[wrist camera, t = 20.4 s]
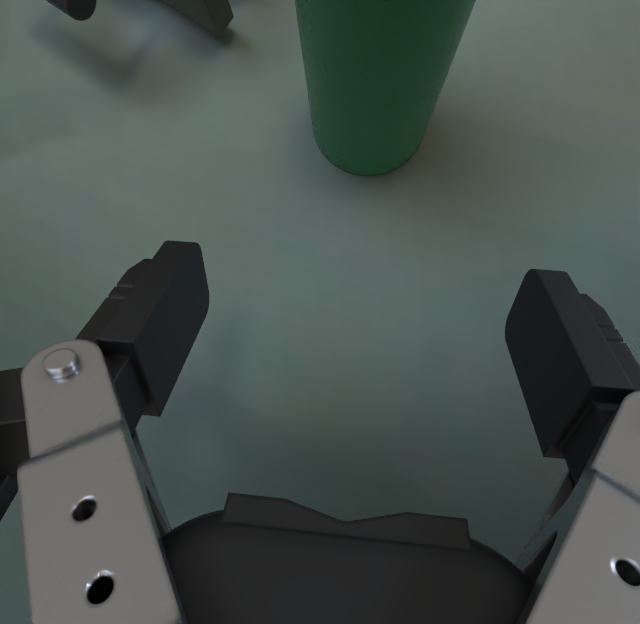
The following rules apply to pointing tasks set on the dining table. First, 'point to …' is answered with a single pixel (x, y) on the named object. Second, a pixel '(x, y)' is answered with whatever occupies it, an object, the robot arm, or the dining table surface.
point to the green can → (376, 74)
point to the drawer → (197, 3)
